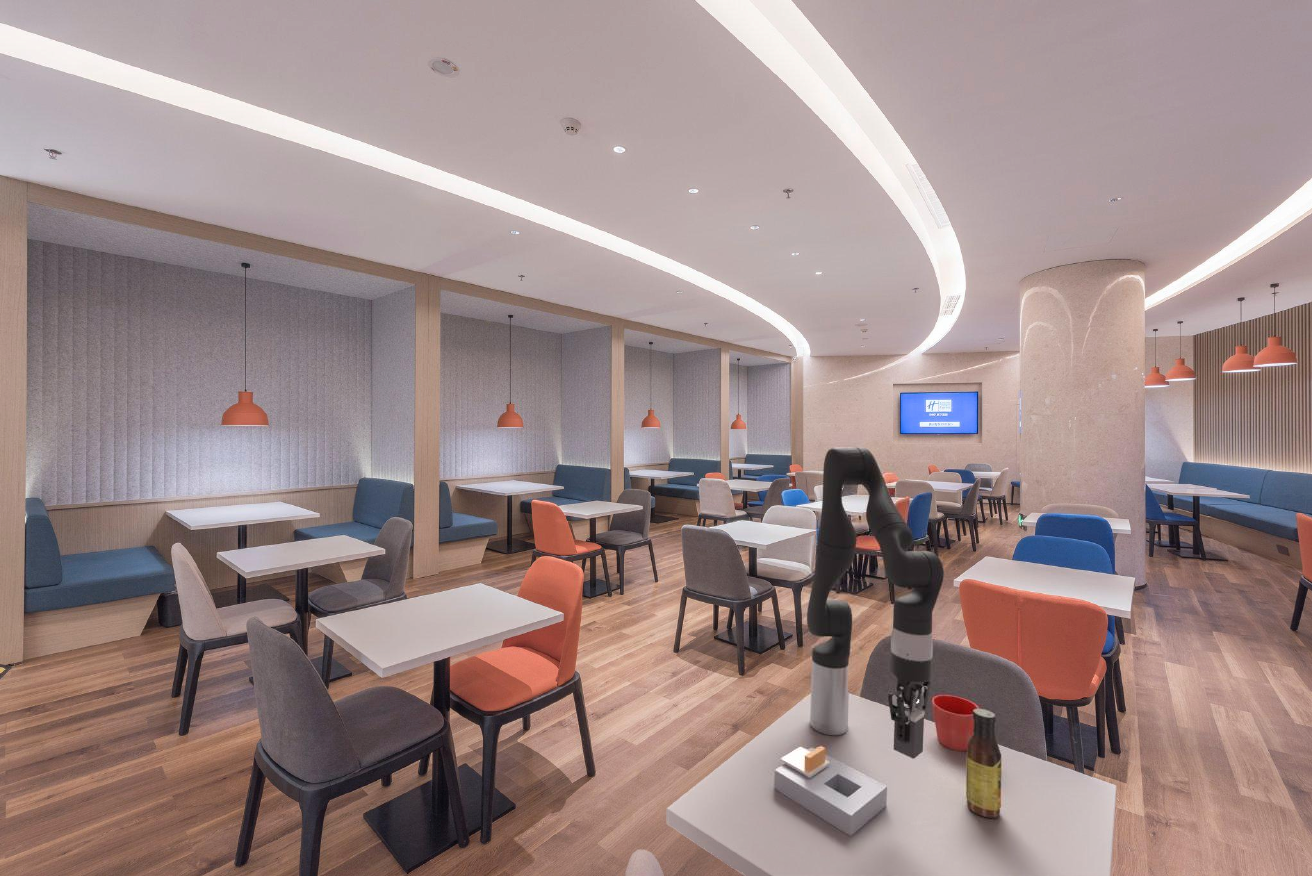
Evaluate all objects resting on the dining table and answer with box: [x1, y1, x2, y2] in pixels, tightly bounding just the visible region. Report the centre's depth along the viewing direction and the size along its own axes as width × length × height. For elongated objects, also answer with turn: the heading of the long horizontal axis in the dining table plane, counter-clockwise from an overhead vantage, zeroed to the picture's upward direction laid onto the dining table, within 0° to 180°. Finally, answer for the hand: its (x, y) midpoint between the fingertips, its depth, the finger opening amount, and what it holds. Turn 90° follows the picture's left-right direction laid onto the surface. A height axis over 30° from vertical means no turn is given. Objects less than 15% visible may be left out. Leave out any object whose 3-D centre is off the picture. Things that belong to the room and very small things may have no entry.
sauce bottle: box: [965, 708, 1003, 819], centre depth 113 cm, size 7×6×20 cm
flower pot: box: [931, 694, 980, 752], centre depth 138 cm, size 11×11×10 cm
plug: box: [893, 704, 926, 760], centre depth 109 cm, size 4×4×8 cm
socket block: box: [773, 747, 888, 837], centre depth 116 cm, size 14×18×4 cm
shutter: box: [780, 745, 830, 778], centre depth 121 cm, size 8×8×4 cm
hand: (908, 736), depth 109 cm, fingers closed on plug, 4 cm apart
